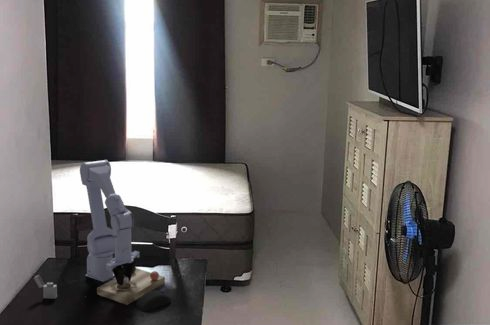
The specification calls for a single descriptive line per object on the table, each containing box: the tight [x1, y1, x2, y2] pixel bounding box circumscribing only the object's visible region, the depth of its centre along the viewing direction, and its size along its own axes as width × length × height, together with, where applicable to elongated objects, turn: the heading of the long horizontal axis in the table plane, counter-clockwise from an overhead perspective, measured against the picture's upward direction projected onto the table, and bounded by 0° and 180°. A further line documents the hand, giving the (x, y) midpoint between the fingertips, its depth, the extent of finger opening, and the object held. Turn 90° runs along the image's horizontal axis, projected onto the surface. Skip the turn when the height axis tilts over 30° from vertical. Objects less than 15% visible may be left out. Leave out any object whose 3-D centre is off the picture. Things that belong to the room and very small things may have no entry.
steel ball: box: [123, 275, 129, 284], centre depth 184 cm, size 3×3×3 cm
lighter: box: [33, 274, 58, 300], centre depth 180 cm, size 7×2×8 cm, turn 90°
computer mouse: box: [135, 289, 172, 312], centre depth 178 cm, size 6×11×4 cm, turn 131°
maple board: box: [96, 267, 166, 306], centre depth 189 cm, size 14×20×2 cm
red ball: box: [150, 270, 160, 280], centre depth 190 cm, size 3×3×3 cm
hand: (123, 282), depth 185 cm, fingers closed on steel ball, 3 cm apart
